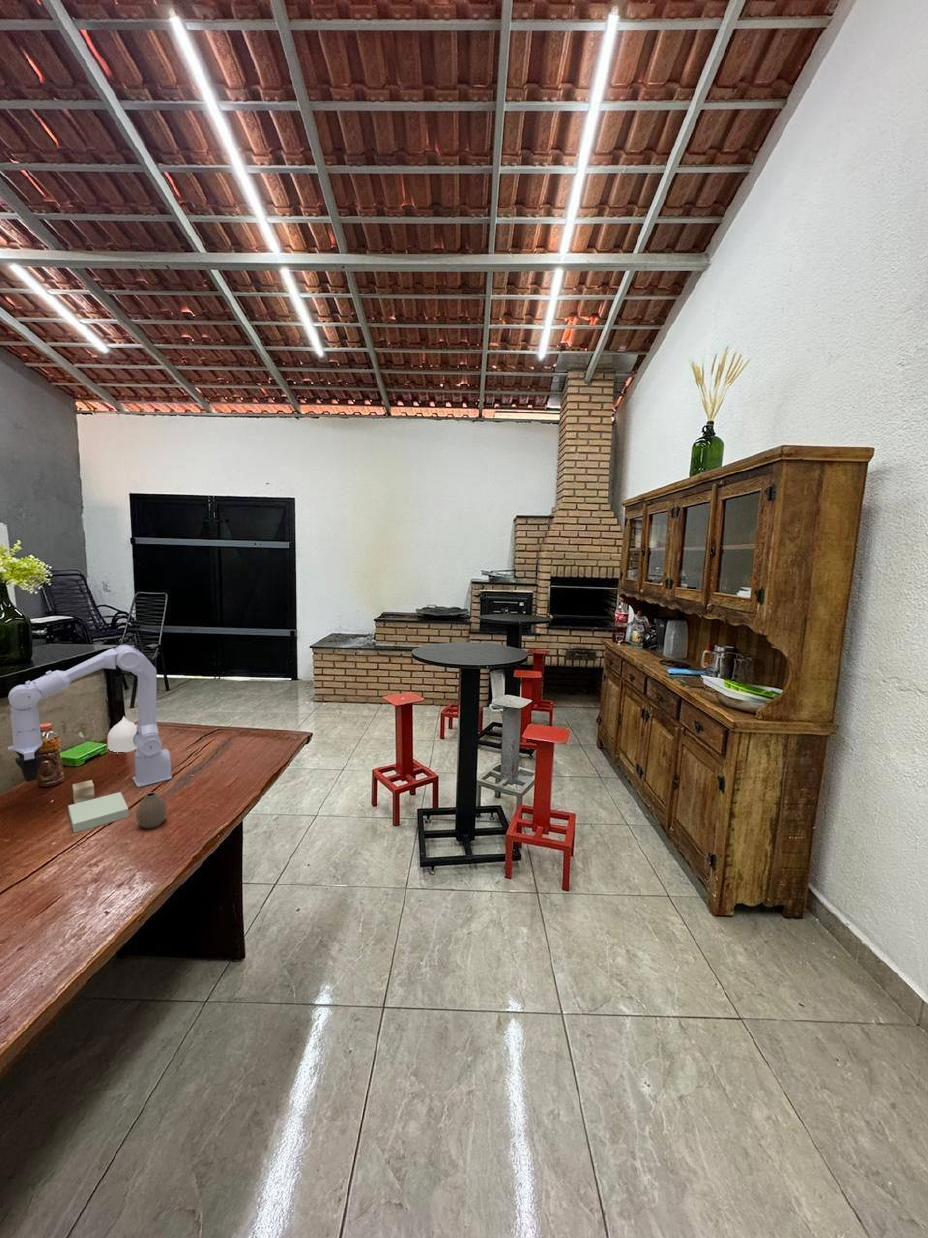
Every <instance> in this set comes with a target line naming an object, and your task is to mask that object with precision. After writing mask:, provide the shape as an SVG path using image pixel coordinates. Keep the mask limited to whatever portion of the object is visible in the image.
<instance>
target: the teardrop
mask: <svg viewBox="0 0 928 1238" xmlns="http://www.w3.org/2000/svg"><path fill="white" fill-rule="evenodd" d="M135 724H136V723H134V722H132V721H130V720H129V719H127V718H126V717H125V716H123V717H122V719H121V720H120V721H118V722H117V723H116V724H115V725H113V727H112V728H111V729H110V730H109V732H108V734H107V750H108V749H109V750H110V751H113V752H117V753H116V754H119V753H118V752H124V753H128V752H129V753H130V752H133V751H136V750H137V747H136V746H135V745H134V743H133V738H134V736H135V734H136V731H137V725H138V724H136V725H135ZM135 749H136V750H135Z"/></svg>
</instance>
